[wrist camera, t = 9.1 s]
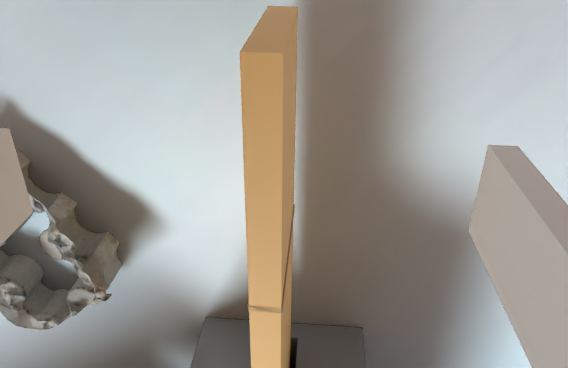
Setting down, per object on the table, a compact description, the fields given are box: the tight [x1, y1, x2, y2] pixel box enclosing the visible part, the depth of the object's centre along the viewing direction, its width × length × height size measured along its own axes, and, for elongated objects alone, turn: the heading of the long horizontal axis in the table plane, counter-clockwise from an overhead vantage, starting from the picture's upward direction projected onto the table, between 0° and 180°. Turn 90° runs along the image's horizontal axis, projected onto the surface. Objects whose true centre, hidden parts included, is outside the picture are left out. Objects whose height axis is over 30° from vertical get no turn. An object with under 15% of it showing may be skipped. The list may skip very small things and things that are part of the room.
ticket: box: [240, 6, 298, 368], centre depth 22 cm, size 22×1×7 cm, turn 0°
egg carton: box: [0, 148, 122, 329], centre depth 27 cm, size 11×8×4 cm
